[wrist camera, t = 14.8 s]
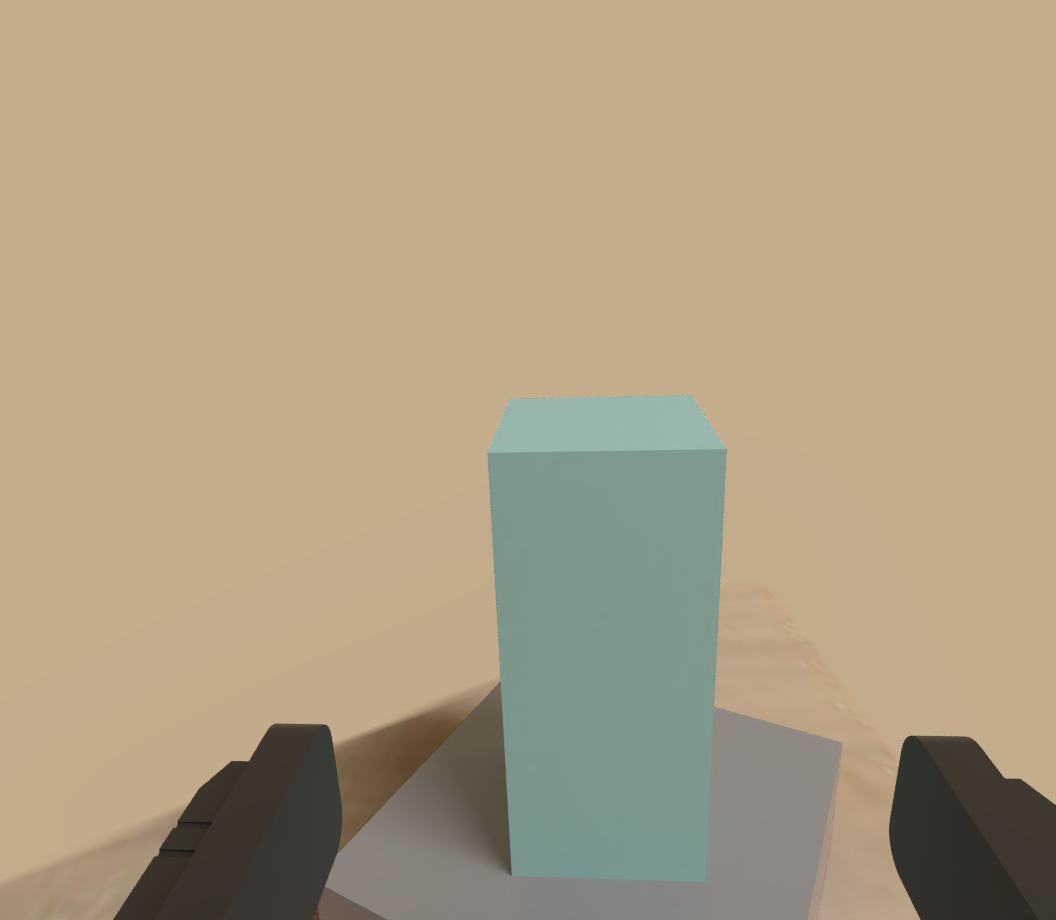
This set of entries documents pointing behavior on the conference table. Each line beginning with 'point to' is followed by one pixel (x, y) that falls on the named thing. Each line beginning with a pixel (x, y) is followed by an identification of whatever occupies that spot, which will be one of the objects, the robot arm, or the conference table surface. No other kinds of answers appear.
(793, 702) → the conference table surface
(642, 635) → the carton
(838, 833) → the conference table surface
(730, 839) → the podium
